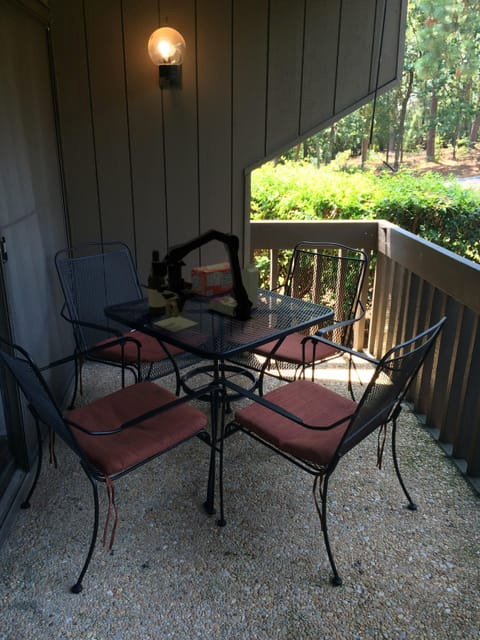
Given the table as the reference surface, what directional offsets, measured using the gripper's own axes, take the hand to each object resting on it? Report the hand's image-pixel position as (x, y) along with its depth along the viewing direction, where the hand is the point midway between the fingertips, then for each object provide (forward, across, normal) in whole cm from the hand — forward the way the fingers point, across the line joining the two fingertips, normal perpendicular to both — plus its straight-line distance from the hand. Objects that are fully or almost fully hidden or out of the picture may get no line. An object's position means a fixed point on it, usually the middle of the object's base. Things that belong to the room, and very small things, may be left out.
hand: (175, 310), depth 217 cm
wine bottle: (+6, +18, -4) cm, 20 cm away
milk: (+7, -6, -42) cm, 43 cm away
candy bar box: (+4, +6, -31) cm, 32 cm away
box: (+7, +27, -52) cm, 59 cm away
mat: (+6, 0, 0) cm, 6 cm away
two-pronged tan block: (+2, 0, 0) cm, 2 cm away
